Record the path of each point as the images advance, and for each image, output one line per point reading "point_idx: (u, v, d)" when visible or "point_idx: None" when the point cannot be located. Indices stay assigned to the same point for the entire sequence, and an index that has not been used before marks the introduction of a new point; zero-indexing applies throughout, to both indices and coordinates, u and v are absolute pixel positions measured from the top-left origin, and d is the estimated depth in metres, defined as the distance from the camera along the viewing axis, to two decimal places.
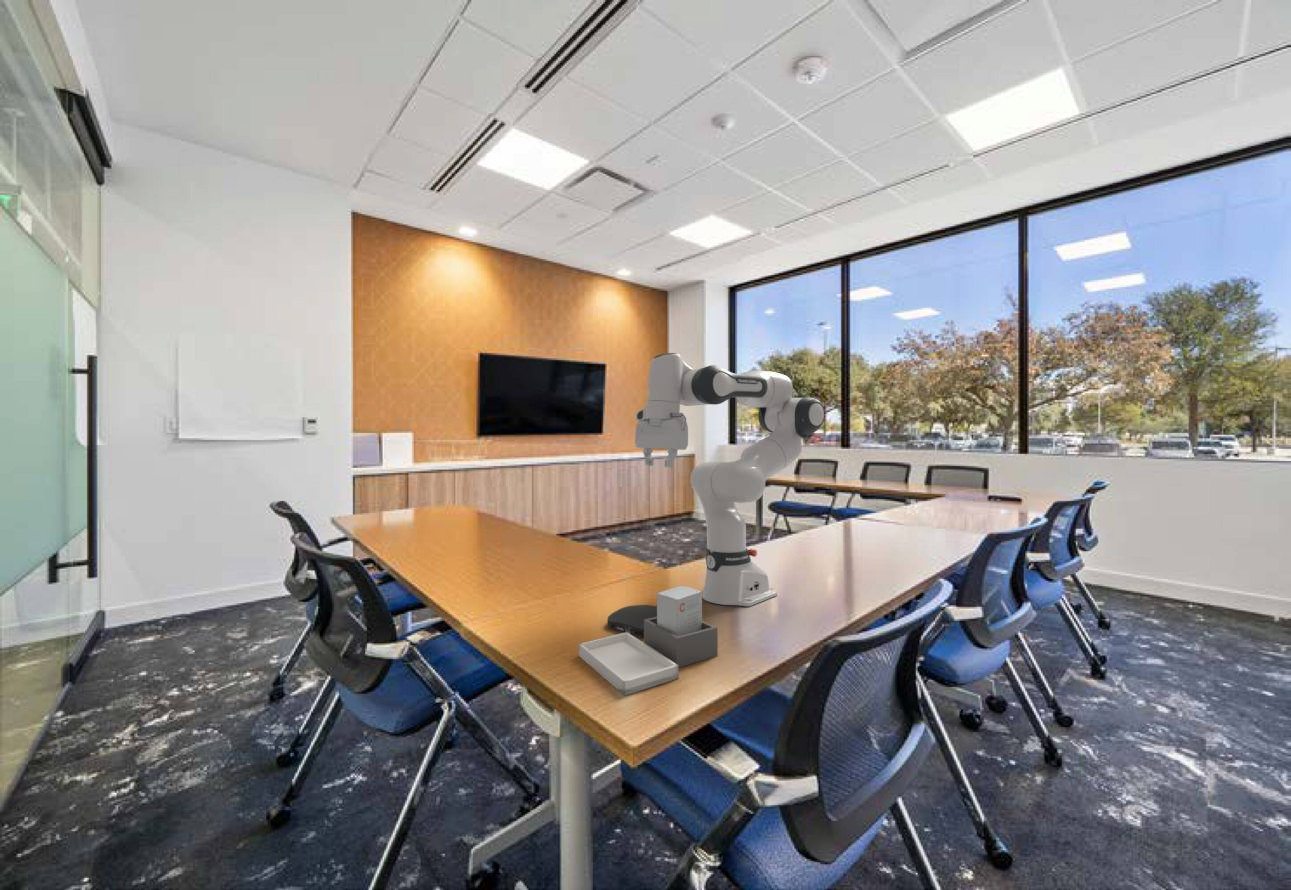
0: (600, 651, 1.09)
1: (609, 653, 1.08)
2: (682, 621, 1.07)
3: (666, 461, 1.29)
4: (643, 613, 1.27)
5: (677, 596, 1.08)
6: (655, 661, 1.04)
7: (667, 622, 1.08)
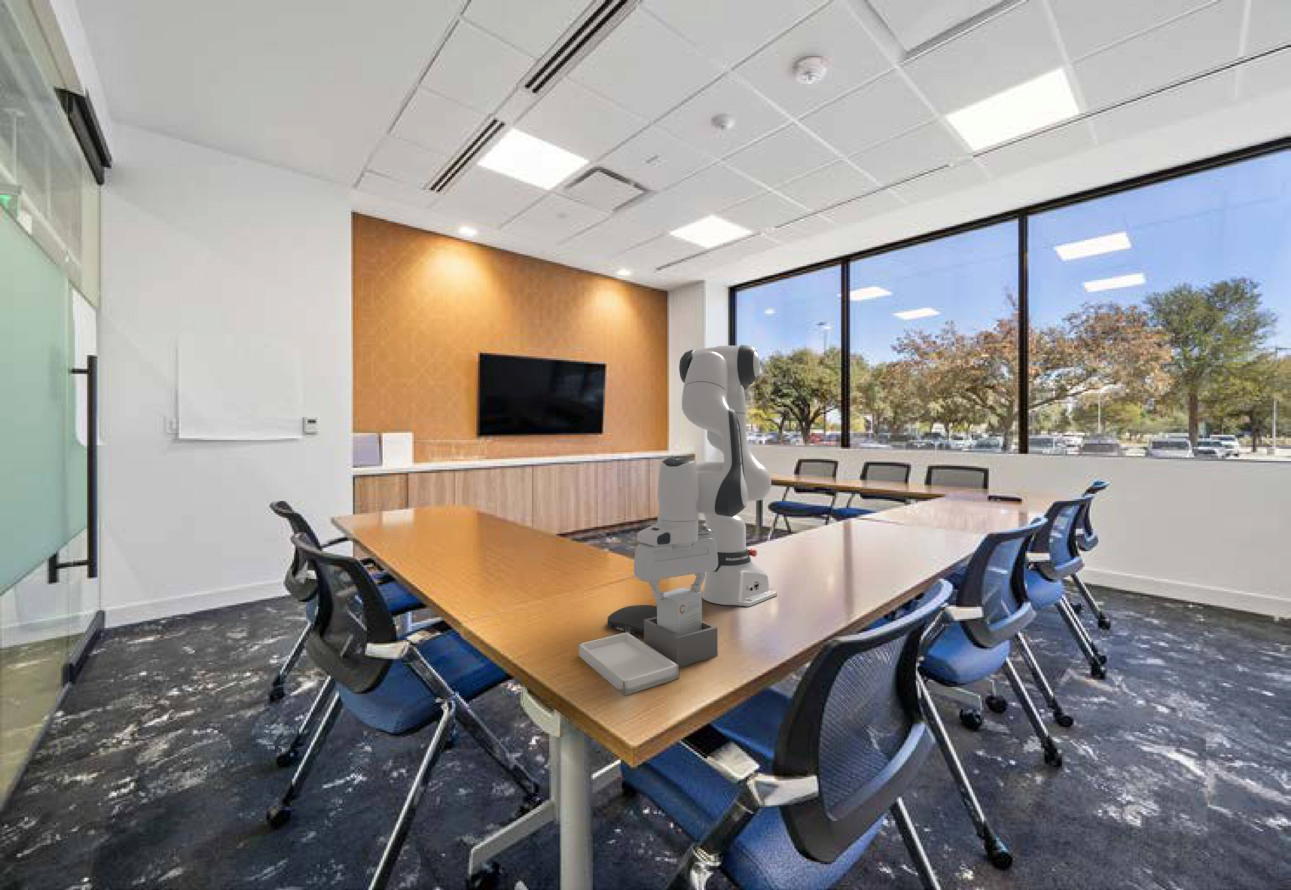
0: (600, 651, 1.09)
1: (609, 653, 1.08)
2: (682, 623, 1.07)
3: (698, 587, 1.12)
4: (643, 613, 1.27)
5: (677, 598, 1.08)
6: (655, 661, 1.04)
7: (667, 624, 1.08)
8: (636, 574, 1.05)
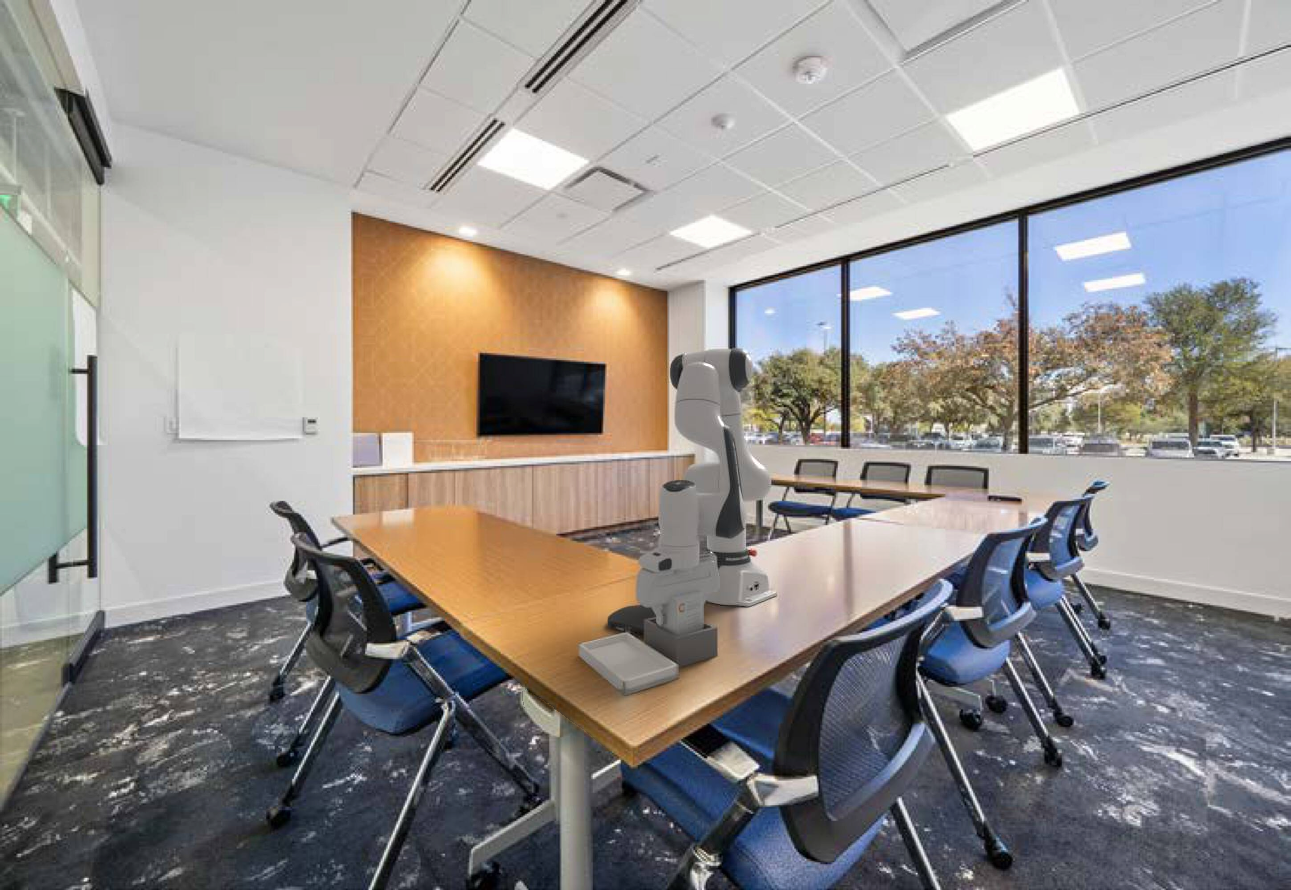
0: (600, 651, 1.09)
1: (609, 653, 1.08)
2: (681, 621, 1.06)
3: None
4: (643, 613, 1.27)
5: (677, 596, 1.07)
6: (655, 661, 1.04)
7: (667, 622, 1.08)
8: (638, 599, 1.06)
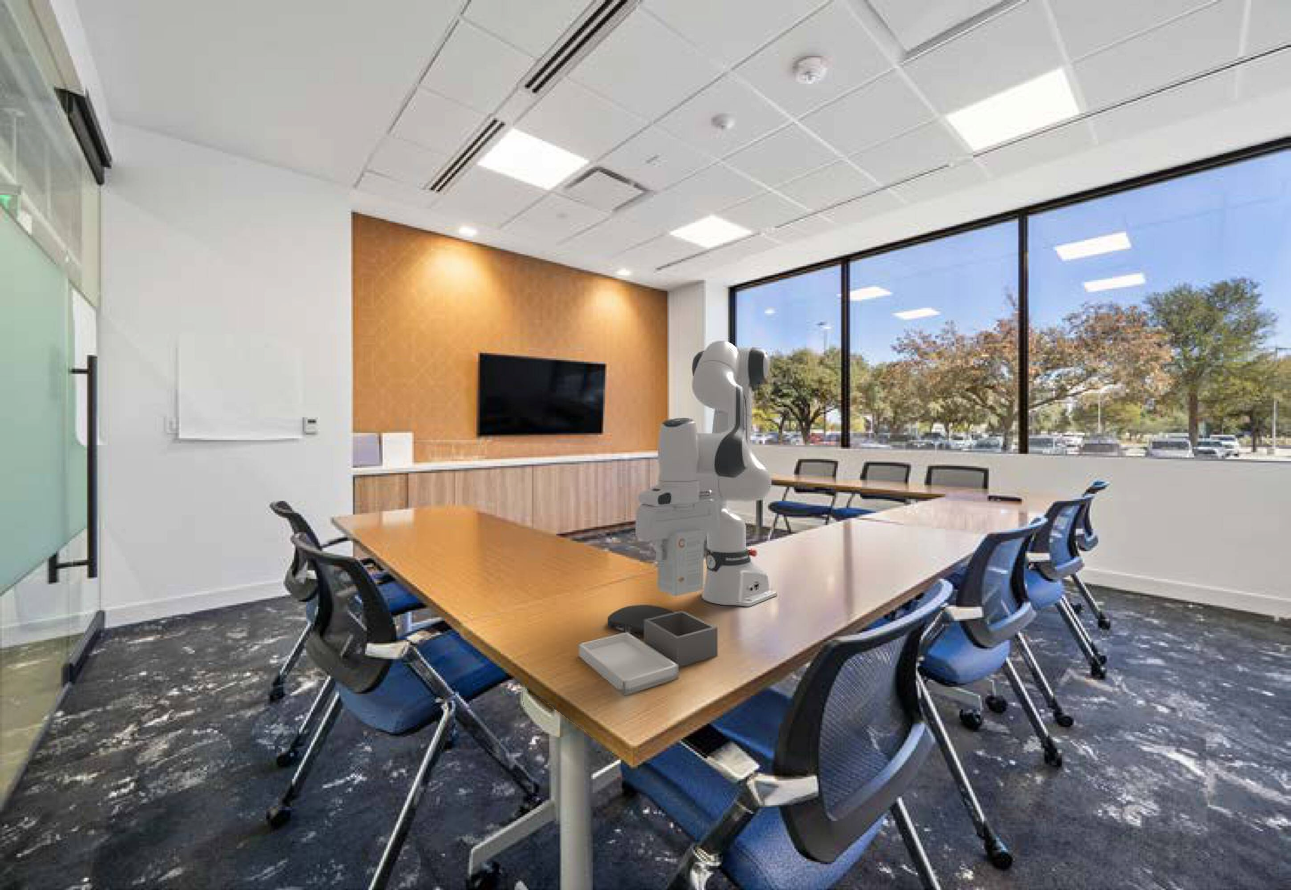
0: (600, 651, 1.09)
1: (609, 653, 1.08)
2: (681, 557, 1.06)
3: None
4: (643, 613, 1.27)
5: (677, 532, 1.07)
6: (655, 661, 1.04)
7: (666, 558, 1.08)
8: (637, 534, 1.06)
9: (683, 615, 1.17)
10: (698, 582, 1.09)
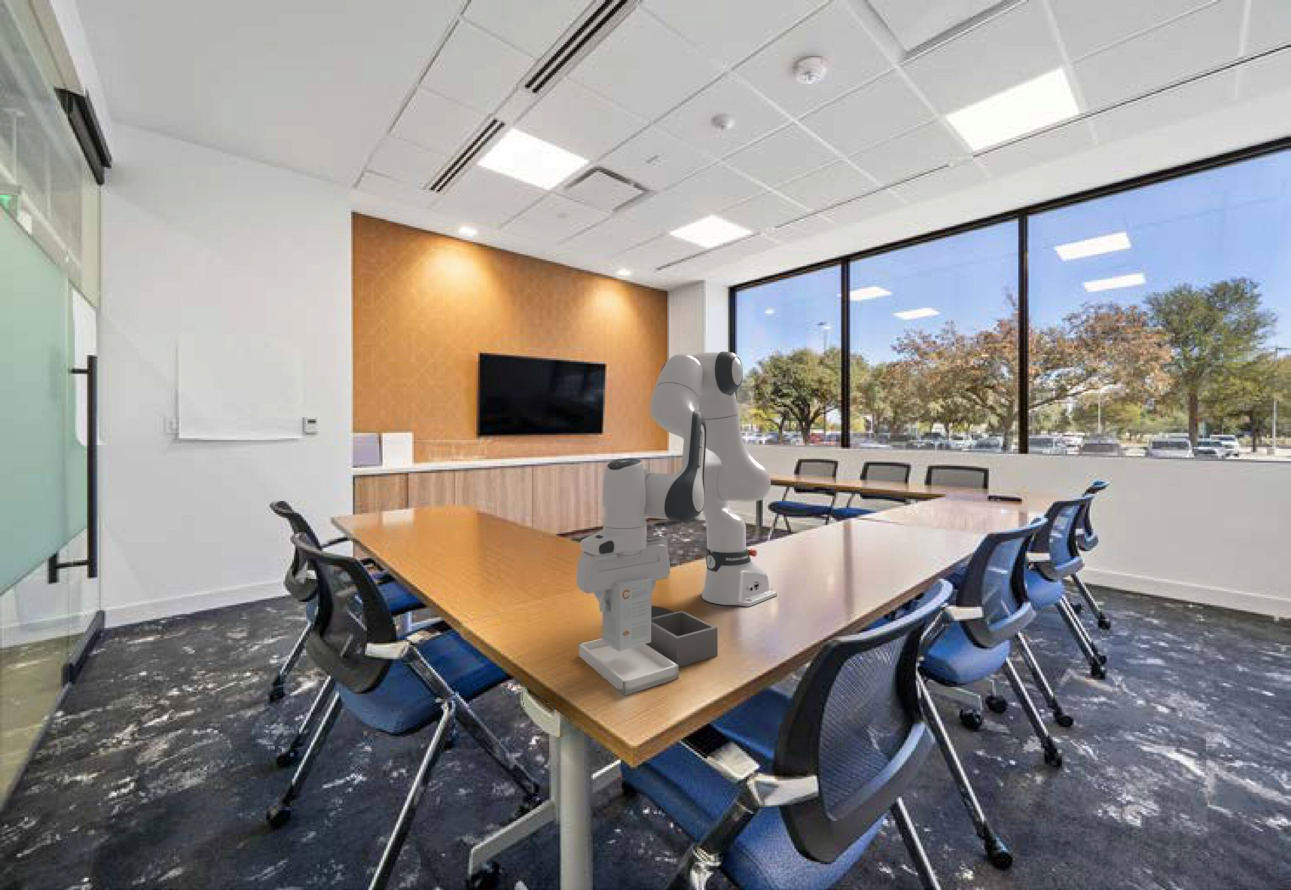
0: (600, 651, 1.09)
1: (609, 653, 1.08)
2: (625, 609, 0.99)
3: None
4: None
5: (621, 582, 1.00)
6: (655, 661, 1.04)
7: (610, 609, 1.01)
8: (578, 585, 0.99)
9: (683, 615, 1.17)
10: (645, 634, 1.02)
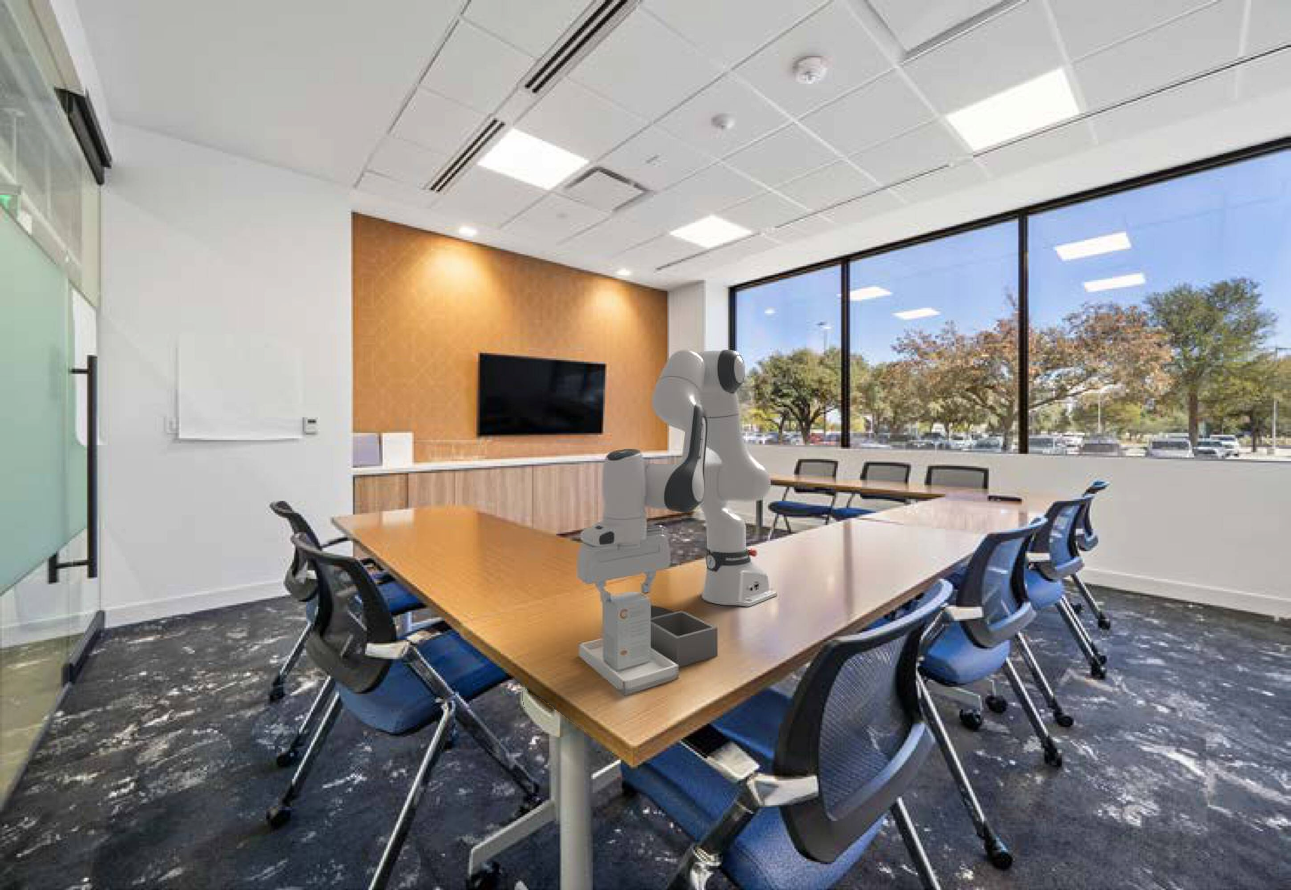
0: (600, 651, 1.09)
1: None
2: (623, 628, 1.00)
3: (648, 587, 1.06)
4: None
5: (619, 601, 1.01)
6: (655, 661, 1.04)
7: (609, 628, 1.02)
8: (578, 576, 0.99)
9: (683, 615, 1.17)
10: (644, 653, 1.03)
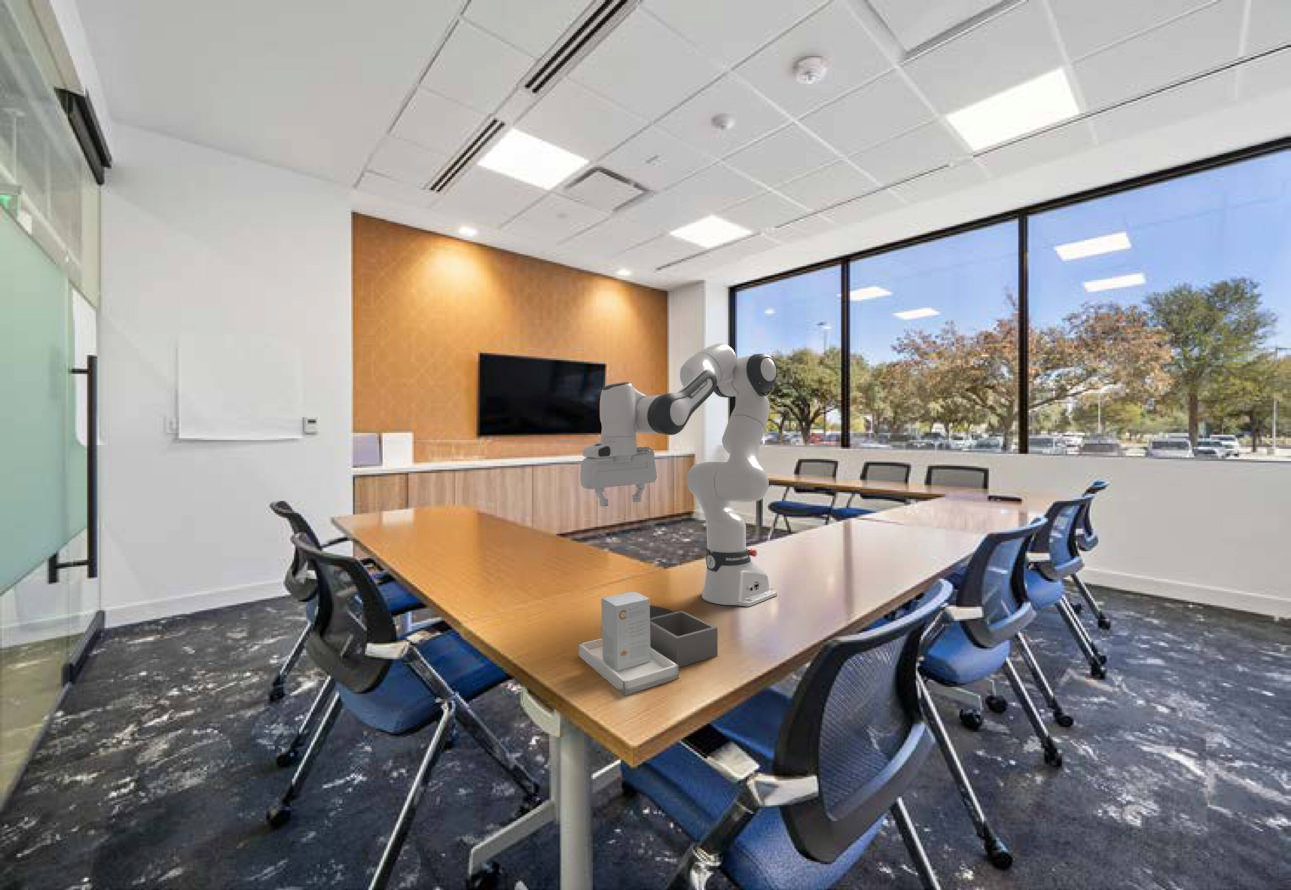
0: (600, 651, 1.09)
1: None
2: (622, 629, 1.00)
3: (638, 496, 1.28)
4: None
5: (618, 602, 1.01)
6: (655, 661, 1.04)
7: (608, 629, 1.02)
8: (582, 483, 1.21)
9: (683, 615, 1.17)
10: (644, 654, 1.03)
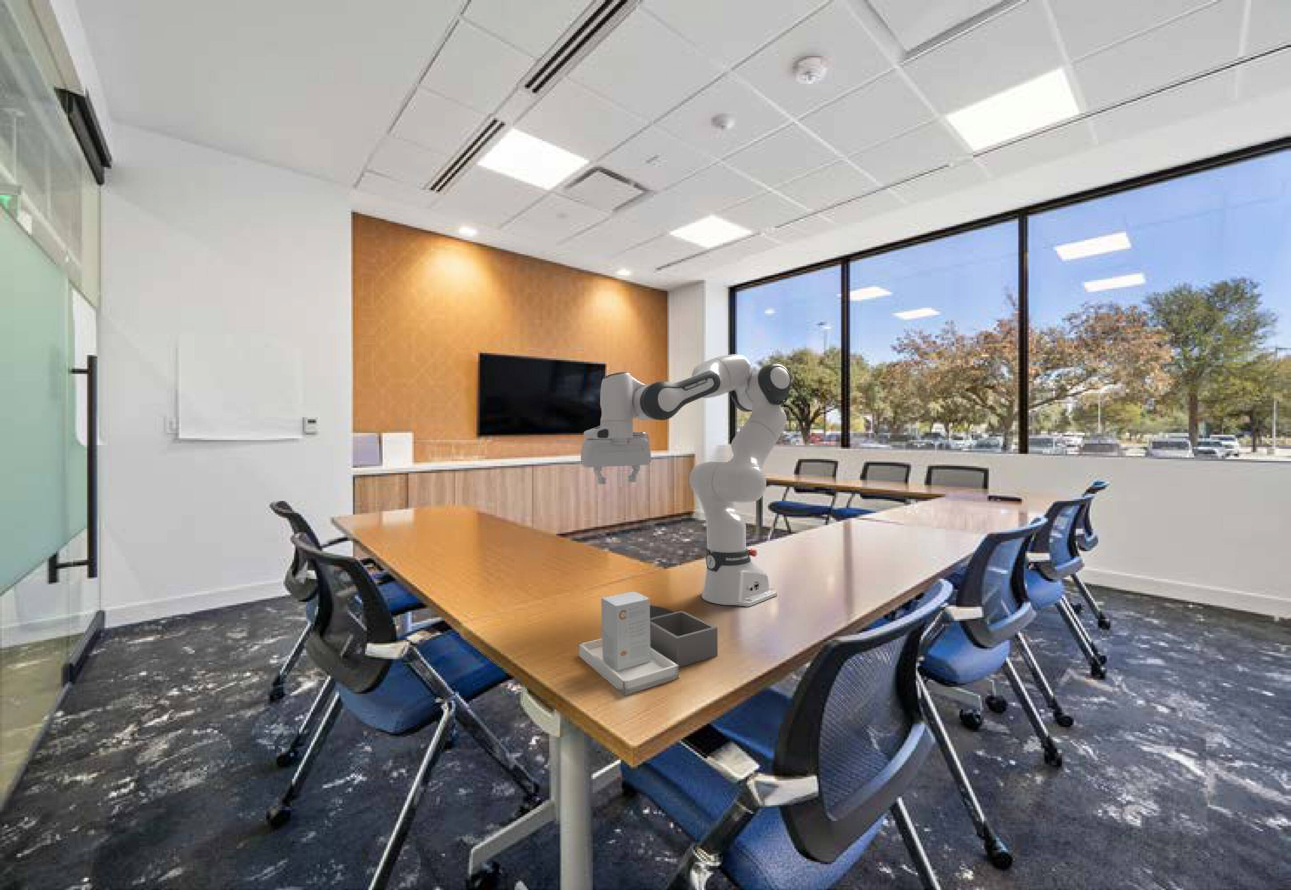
0: (600, 651, 1.09)
1: None
2: (622, 629, 1.00)
3: (634, 477, 1.40)
4: None
5: (618, 602, 1.01)
6: (655, 661, 1.04)
7: (608, 629, 1.02)
8: (582, 462, 1.34)
9: (683, 615, 1.17)
10: (644, 654, 1.03)
